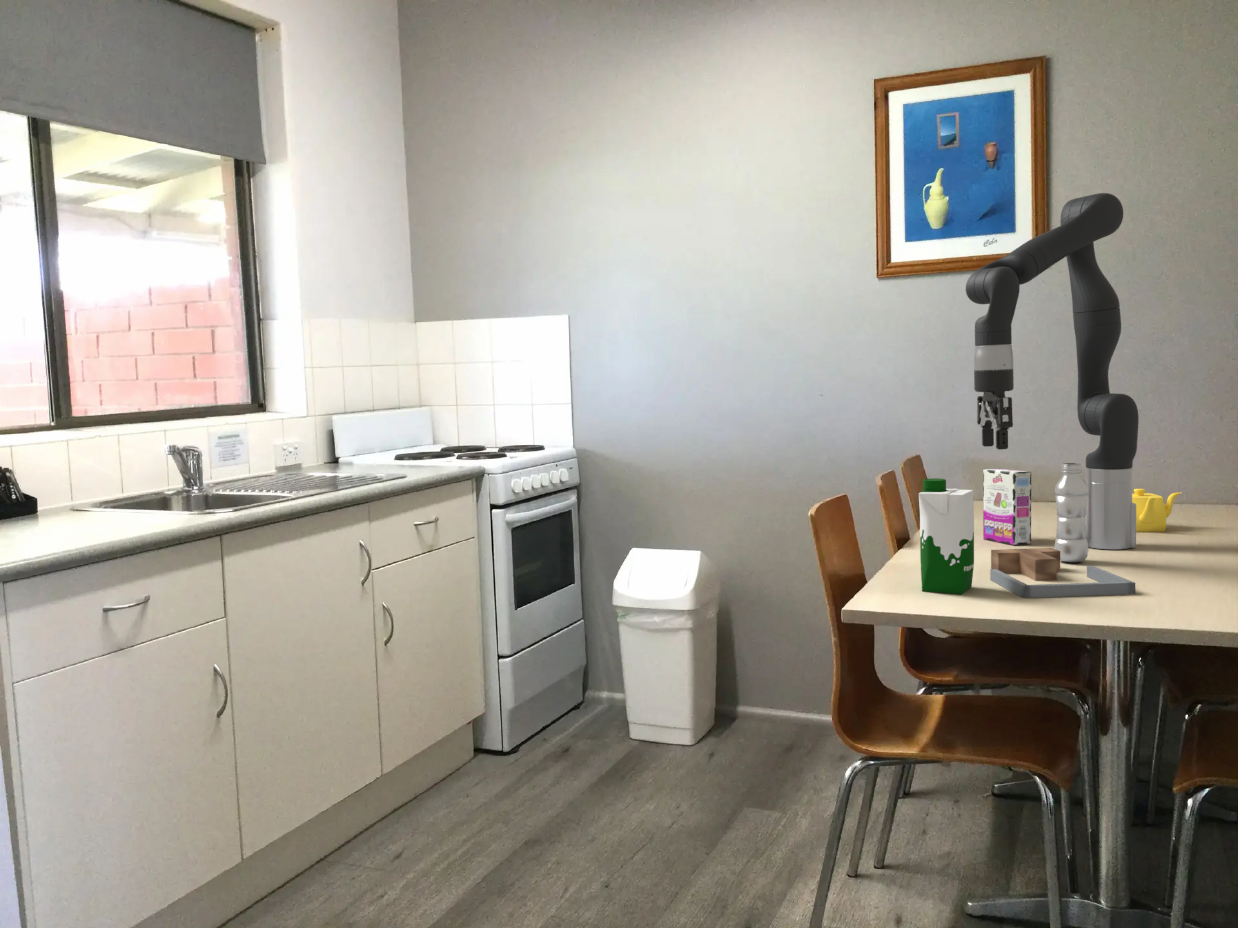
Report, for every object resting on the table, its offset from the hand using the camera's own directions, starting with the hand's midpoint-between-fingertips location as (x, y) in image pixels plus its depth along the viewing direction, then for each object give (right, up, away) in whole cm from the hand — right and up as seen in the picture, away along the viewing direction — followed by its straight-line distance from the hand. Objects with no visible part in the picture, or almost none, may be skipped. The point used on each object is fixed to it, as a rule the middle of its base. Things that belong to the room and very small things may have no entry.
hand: (994, 447), depth 216 cm
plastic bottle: (+15, -23, -1) cm, 28 cm away
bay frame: (+3, -26, -24) cm, 35 cm away
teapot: (+48, -19, +38) cm, 64 cm away
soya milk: (-17, -26, -23) cm, 39 cm away
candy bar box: (+12, -21, +26) cm, 35 cm away
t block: (+3, -25, -12) cm, 28 cm away
